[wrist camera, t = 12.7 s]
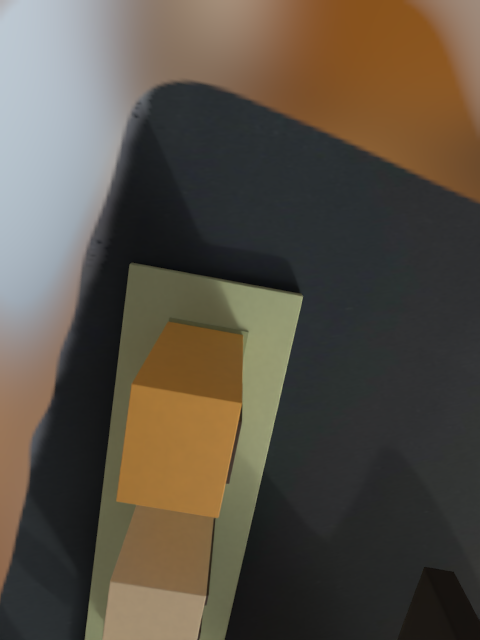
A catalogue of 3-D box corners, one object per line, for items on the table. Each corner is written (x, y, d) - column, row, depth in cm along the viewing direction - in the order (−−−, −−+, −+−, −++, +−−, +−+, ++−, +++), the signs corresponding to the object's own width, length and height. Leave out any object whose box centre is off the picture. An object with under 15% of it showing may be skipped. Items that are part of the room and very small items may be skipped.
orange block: (167, 321, 24) (131, 383, 16) (247, 335, 24) (248, 403, 16) (154, 407, 25) (115, 502, 18) (230, 420, 25) (223, 519, 18)
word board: (131, 262, 24) (128, 264, 23) (302, 293, 24) (303, 296, 24) (82, 665, 31) (79, 674, 31) (213, 684, 32) (212, 693, 31)
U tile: (149, 467, 26) (109, 581, 19) (221, 479, 27) (211, 597, 19) (138, 538, 28) (97, 671, 20) (206, 549, 28) (192, 685, 20)
